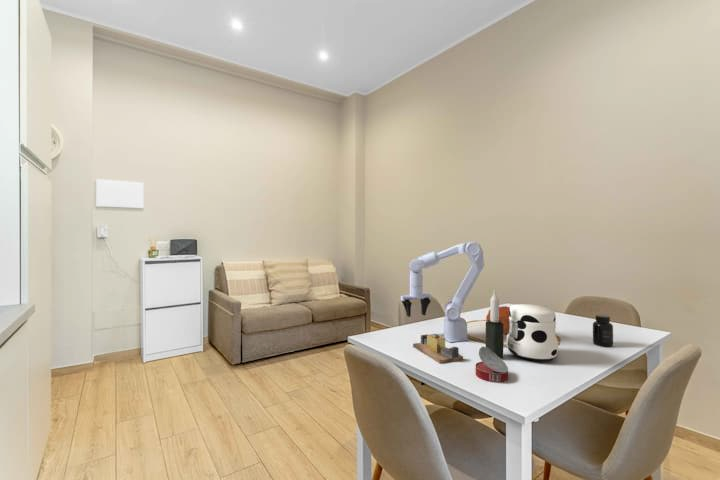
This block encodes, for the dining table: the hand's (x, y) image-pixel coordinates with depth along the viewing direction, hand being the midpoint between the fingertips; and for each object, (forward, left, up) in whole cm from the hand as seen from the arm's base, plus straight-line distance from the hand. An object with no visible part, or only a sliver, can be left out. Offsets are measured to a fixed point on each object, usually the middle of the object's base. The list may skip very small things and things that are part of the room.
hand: (416, 315), depth 148 cm
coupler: (+3, +21, -8) cm, 22 cm away
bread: (-46, +11, -10) cm, 49 cm away
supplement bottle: (-67, +37, -10) cm, 77 cm away
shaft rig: (+3, +21, -9) cm, 23 cm away
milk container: (-29, +36, -10) cm, 47 cm away
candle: (-15, +32, -10) cm, 37 cm away
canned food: (-2, +45, -10) cm, 46 cm away
